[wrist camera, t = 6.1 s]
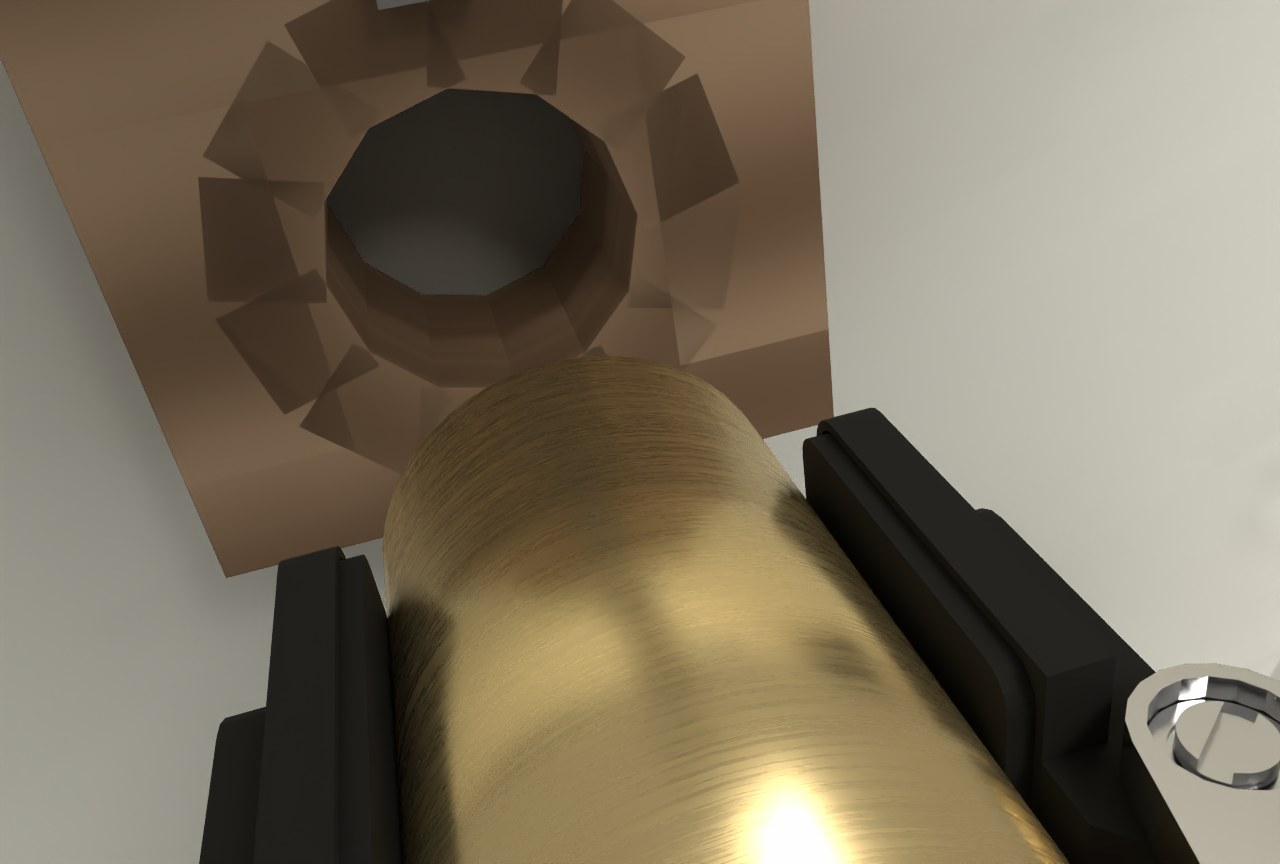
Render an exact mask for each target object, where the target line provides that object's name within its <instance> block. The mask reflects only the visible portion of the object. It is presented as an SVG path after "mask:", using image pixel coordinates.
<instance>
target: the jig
mask: <svg viewBox="0 0 1280 864" xmlns="http://www.w3.org/2000/svg"><path fill="white" fill-rule="evenodd" d="M0 58H1V60H2V62H3V65H4V67H5V69H6V72H7V74H8V76H9V78H10V81H11V83H12V85H13V88H14V90H15V92H16V95H17V97H18V99H19V102H20V104H21V106H22V108H23V111H24V113H25V115H26V118H27V120H28V122H29V125H30V127H31V129H32V131H33V134H34V136H35V138H36V141H37V143H38V145H39V148H40V150H41V152H42V155H43V157H44V159H45V161H46V164H47V166H48V168H49V171H50V173H51V175H52V178H53V180H54V182H55V184H56V187H57V189H58V191H59V194H60V196H61V198H62V201H63V203H64V205H65V208H66V210H67V212H68V214H69V217H70V219H71V221H72V224H73V226H74V228H75V231H76V233H77V235H78V237H79V240H80V242H81V244H82V247H83V249H84V251H85V254H86V256H87V258H88V261H89V263H90V265H91V267H92V270H93V272H94V274H95V277H96V279H97V281H98V284H99V286H100V288H101V291H102V293H103V295H104V297H105V300H106V302H107V304H108V307H109V309H110V311H111V314H112V316H113V318H114V320H115V323H116V325H117V327H118V330H119V332H120V334H121V337H122V339H123V341H124V344H125V346H126V348H127V350H128V353H129V355H130V357H131V360H132V362H133V364H134V367H135V369H136V371H137V373H138V376H139V378H140V380H141V383H142V385H143V387H144V390H145V392H146V394H147V397H148V399H149V401H150V403H151V406H152V408H153V410H154V413H155V415H156V417H157V420H158V422H159V424H160V427H161V429H162V431H163V433H164V436H165V438H166V440H167V443H168V445H169V447H170V450H171V452H172V454H173V456H174V459H175V461H176V463H177V466H178V468H179V470H180V473H181V475H182V477H183V480H184V482H185V484H186V486H187V489H188V491H189V493H190V496H191V498H192V500H193V503H194V505H195V507H196V509H197V512H198V514H199V516H200V519H201V521H202V523H203V526H204V528H205V530H206V533H207V535H208V537H209V539H210V542H211V544H212V546H213V549H214V551H215V553H216V556H217V558H218V560H219V563H220V565H221V567H222V569H223V572H224V574H225V576H226V578H228V577H232V576H236V575H240V574H244V573H247V572H251V571H255V570H259V569H263V568H267V567H271V566H274V565H278V564H279V562H280V561H282V560H285V559H289V558H293V557H296V556H300V555H304V554H308V553H312V552H316V551H320V550H323V549H327V548H331V547H335V546H339V547H340V548H344V547H348V546H352V545H355V544H359V543H363V542H367V541H371V540H375V539H379V538H382V537H384V527H385V521H386V517H387V513H388V508H389V504H390V500H391V498H392V495H393V493H394V490H395V488H396V486H397V483H398V481H399V478H400V476H401V474H402V473H403V471H404V469H405V468H406V466H407V464H408V462H409V461H410V459H411V457H412V456H413V454H414V453H415V451H416V450H417V449H418V448H419V446H420V445H421V444H422V442H423V441H424V440H425V439H426V437H427V436H428V435H429V434H430V433H431V432H432V431H433V430H434V429H435V428H436V427H437V426H438V425H439V424H440V423H441V422H442V421H443V420H444V419H445V418H446V417H447V416H448V415H449V414H450V413H451V412H453V411H454V410H455V409H456V408H458V407H459V406H460V405H462V404H463V403H464V402H466V401H467V400H468V399H470V398H471V397H472V396H474V395H476V394H477V393H479V392H481V391H482V390H484V389H486V388H487V387H489V386H491V385H493V384H494V383H496V382H498V381H500V380H503V379H505V378H507V377H509V376H512V375H514V374H516V373H518V372H521V371H523V370H526V369H530V368H533V367H536V366H539V365H543V364H546V363H549V362H554V361H559V360H565V359H571V358H576V357H588V356H606V355H608V356H622V357H635V358H640V359H645V360H650V361H655V362H660V363H663V364H666V365H669V366H672V367H675V368H678V369H681V370H684V371H686V372H688V373H690V374H692V375H694V376H696V377H698V378H700V379H701V380H703V381H705V382H707V383H708V384H710V385H711V386H713V387H714V388H715V389H717V390H718V391H720V392H721V393H723V394H724V395H725V396H726V397H727V398H728V399H729V400H731V401H732V402H733V403H734V404H735V405H736V406H737V407H738V408H739V409H740V410H741V411H742V412H743V414H744V415H745V416H746V418H747V419H748V420H749V422H750V423H751V424H752V426H753V427H754V428H755V430H756V431H757V432H758V434H759V435H760V436H761V438H762V439H764V438H768V437H772V436H776V435H780V434H783V433H787V432H791V431H795V430H799V429H803V428H807V427H810V426H814V425H818V424H819V423H820V422H821V420H825V419H829V418H833V417H834V414H833V398H832V381H831V364H830V348H829V331H828V315H827V298H826V282H825V265H824V249H823V232H822V216H821V199H820V183H819V166H818V150H817V133H816V116H815V100H814V83H813V67H812V50H811V34H810V17H809V1H808V0H0ZM447 88H453V89H467V90H482V91H497V92H511V93H526V94H536V95H538V96H539V97H541V98H542V99H544V100H545V101H547V102H548V103H549V104H551V105H552V106H554V107H555V108H557V109H558V110H559V111H561V112H562V113H564V114H565V115H567V116H568V117H570V118H571V121H572V123H573V125H574V127H575V129H576V131H577V134H578V136H579V138H580V140H581V142H582V144H583V147H584V149H585V152H584V164H583V175H582V187H581V198H580V210H579V215H578V217H577V218H576V219H575V221H574V222H573V224H572V225H571V227H570V228H569V230H568V231H567V233H566V234H565V236H564V237H563V239H562V240H561V242H560V243H559V244H558V246H557V247H556V249H555V250H554V252H553V253H552V255H551V256H550V258H549V259H548V261H547V262H546V264H545V265H544V266H543V267H542V268H540V269H538V270H536V271H534V272H532V273H530V274H528V275H526V276H524V277H522V278H520V279H518V280H516V281H514V282H512V283H510V284H509V285H507V286H505V287H503V288H501V289H499V290H497V291H495V292H493V293H491V294H489V295H487V296H476V295H422V294H420V293H418V292H416V291H415V290H413V289H411V288H409V287H407V286H406V285H404V284H402V283H400V282H398V281H397V280H395V279H393V278H391V277H389V276H388V275H386V274H384V273H382V272H380V271H379V270H377V269H375V268H373V267H372V266H370V265H368V264H366V263H364V262H363V260H362V258H361V257H360V255H359V254H358V252H357V250H356V249H355V247H354V246H353V244H352V242H351V241H350V239H349V237H348V236H347V234H346V233H345V231H344V229H343V228H342V226H341V225H340V223H339V221H338V220H337V218H336V217H335V215H334V213H333V212H332V210H331V208H330V207H329V205H328V195H329V193H330V192H331V190H332V189H333V187H334V185H335V184H336V182H337V180H338V179H339V177H340V175H341V174H342V172H343V170H344V169H345V167H346V165H347V164H348V162H349V160H350V159H351V157H352V155H353V154H354V152H355V150H356V149H357V147H358V145H359V144H360V142H361V140H362V139H363V137H364V135H365V134H366V132H367V131H368V129H369V128H371V127H373V126H375V125H377V124H379V123H381V122H383V121H385V120H387V119H389V118H390V117H392V116H394V115H396V114H398V113H400V112H402V111H404V110H406V109H408V108H410V107H412V106H414V105H416V104H418V103H420V102H422V101H424V100H426V99H428V98H430V97H432V96H434V95H436V94H437V93H439V92H441V91H443V90H445V89H447Z"/></svg>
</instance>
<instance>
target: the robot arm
mask: <svg viewBox="0 0 1280 864" xmlns="http://www.w3.org/2000/svg"><path fill="white" fill-rule="evenodd" d="M803 463H804V476H805V488H806V500H807V501H808V503H809V504H810V506H811V507H812V508H813V510H814V511H815V512H816V514H817V515H818V517H819V518H820V519H821V521H822V522H823V523H824V525H825V526H826V528H827V529H828V530H829V532H830V533H831V535H832V536H833V537H834V539H835V540H836V541H837V543H838V544H839V546H840V547H841V548H842V550H843V551H844V552H845V554H846V555H847V557H848V558H849V559H850V561H851V562H852V564H853V565H854V566H855V568H856V569H857V570H858V572H859V573H860V575H861V576H862V577H863V579H864V580H865V581H866V583H867V584H868V586H869V587H870V588H871V590H872V591H873V593H874V594H875V595H876V597H877V598H878V599H879V601H880V602H881V604H882V605H883V606H884V608H885V609H886V610H887V612H888V613H889V615H890V616H891V617H892V619H893V620H894V622H895V623H896V624H897V626H898V627H899V628H900V630H901V631H902V633H903V634H904V635H905V637H906V638H907V639H908V641H909V642H910V644H911V645H912V646H913V648H914V649H915V651H916V652H917V653H918V655H919V656H920V657H921V659H922V660H923V662H924V663H925V664H926V666H927V667H928V668H929V670H930V671H931V673H932V674H933V675H934V677H935V678H936V680H937V681H938V682H939V684H940V685H941V686H942V688H943V689H944V691H945V692H946V693H947V695H948V696H949V697H950V699H951V700H952V702H953V703H954V704H955V706H956V707H957V709H958V710H959V711H960V713H961V714H962V715H963V717H964V718H965V720H966V721H967V722H968V724H969V725H970V726H971V728H972V729H973V731H974V732H975V733H976V735H977V736H978V737H979V739H980V740H981V742H982V743H983V744H984V746H985V747H986V749H987V750H988V751H989V753H990V754H991V755H992V757H993V758H994V760H995V761H996V762H997V764H998V765H999V766H1000V768H1001V769H1002V771H1003V772H1004V773H1005V775H1006V776H1007V778H1008V779H1009V780H1010V782H1011V783H1012V784H1013V786H1014V787H1015V789H1016V790H1017V791H1018V793H1019V794H1020V795H1021V797H1022V798H1023V800H1024V801H1025V802H1026V804H1027V805H1028V807H1029V808H1030V809H1031V811H1032V812H1033V813H1034V815H1035V816H1036V818H1037V819H1038V820H1039V822H1040V823H1041V824H1042V826H1043V827H1044V829H1045V830H1046V831H1047V833H1048V834H1049V836H1050V837H1051V838H1052V840H1053V841H1054V842H1055V844H1056V845H1057V847H1058V848H1059V849H1060V851H1061V852H1062V853H1063V855H1064V856H1065V858H1066V859H1067V860H1068V862H1069V863H1070V864H1280V681H1278V680H1275V679H1273V678H1270V677H1267V676H1265V675H1262V674H1259V673H1257V672H1254V671H1251V670H1249V669H1244V668H1238V667H1233V666H1227V665H1221V664H1183V665H1179V666H1175V667H1171V668H1167V669H1163V670H1159V671H1158V672H1155V671H1154V670H1153V669H1152V668H1151V667H1150V666H1149V665H1148V664H1147V663H1146V662H1145V661H1144V660H1143V659H1142V658H1141V657H1140V656H1139V655H1138V654H1137V653H1136V652H1135V651H1134V650H1133V649H1132V648H1131V647H1130V646H1129V645H1128V644H1127V643H1126V642H1125V641H1124V640H1123V639H1122V638H1121V637H1120V636H1119V635H1118V634H1117V633H1116V632H1115V631H1114V630H1113V629H1112V628H1111V627H1110V626H1109V625H1108V624H1107V623H1106V622H1105V621H1104V620H1103V619H1102V618H1101V617H1100V616H1099V615H1098V614H1097V613H1096V612H1095V611H1094V610H1093V609H1092V608H1091V607H1090V606H1089V605H1088V604H1087V603H1086V602H1085V601H1084V600H1083V599H1082V598H1081V597H1080V596H1079V595H1078V594H1077V593H1076V592H1075V591H1074V590H1073V589H1072V588H1071V587H1070V586H1069V585H1068V584H1067V583H1066V582H1065V581H1064V580H1063V579H1062V578H1061V577H1060V576H1059V575H1058V574H1057V573H1056V572H1055V571H1054V570H1053V569H1052V568H1051V567H1050V566H1049V565H1048V564H1047V563H1046V562H1045V561H1044V560H1043V559H1042V558H1041V557H1040V556H1039V555H1038V554H1037V553H1036V552H1035V551H1034V550H1033V549H1032V548H1031V547H1030V546H1029V545H1028V544H1027V543H1026V542H1025V541H1024V540H1023V539H1022V538H1021V537H1020V536H1019V535H1018V534H1017V533H1016V532H1015V531H1014V530H1013V529H1012V528H1011V527H1010V526H1009V525H1008V524H1007V523H1006V522H1005V521H1004V520H1003V519H1002V518H1001V517H1000V516H998V515H997V514H996V513H994V512H993V511H992V510H988V509H983V508H981V509H978V510H975V509H974V508H973V507H972V506H971V505H970V504H969V503H968V502H967V501H966V500H965V499H964V498H963V497H962V496H961V495H960V494H959V493H958V492H957V491H956V490H955V489H954V488H953V487H952V486H951V485H950V484H949V483H948V482H947V480H946V479H945V478H944V477H943V476H942V475H941V474H940V473H939V472H938V471H937V470H936V469H935V468H934V467H933V466H932V465H931V464H930V463H929V462H928V461H927V460H926V459H925V458H924V457H923V456H922V455H921V454H920V453H919V452H918V451H917V449H916V448H915V447H914V446H913V445H912V444H911V443H910V442H909V441H908V440H907V439H906V438H905V437H904V436H903V435H902V434H901V433H900V432H899V431H898V430H897V429H896V428H895V427H894V426H893V425H892V424H891V423H890V422H889V421H888V420H887V418H886V417H885V416H884V415H883V414H882V413H881V412H880V411H878V410H877V409H875V408H868V409H864V410H860V411H856V412H852V413H848V414H845V415H841V416H837V417H833V418H829V419H825V420H821V422H820V423H819V424H818V429H817V436H816V437H812V438H808V439H805V441H804V443H803ZM199 864H403V850H402V834H401V819H400V803H399V788H398V772H397V756H396V741H395V725H394V710H393V694H392V678H391V663H390V647H389V632H388V618H387V615H386V612H385V609H384V606H383V603H382V600H381V598H380V595H379V592H378V589H377V586H376V583H375V580H374V577H373V574H372V571H371V568H370V566H369V563H368V561H367V559H366V557H365V556H364V555H360V556H356V557H352V558H348V559H346V558H345V555H344V553H343V552H342V550H341V548H340V547H339V546H335V547H331V548H327V549H323V550H320V551H316V552H312V553H308V554H304V555H300V556H296V557H293V558H289V559H285V560H282V561H280V562H279V566H278V573H277V585H276V597H275V609H274V621H273V632H272V644H271V656H270V668H269V680H268V692H267V703H266V707H263V708H260V709H256V710H253V711H249V712H245V713H242V714H238V715H235V716H231V717H227V718H225V719H224V720H223V721H222V723H221V724H220V726H219V730H218V734H217V739H216V746H215V753H214V760H213V768H212V775H211V782H210V789H209V797H208V804H207V811H206V818H205V826H204V833H203V840H202V847H201V855H200V862H199Z"/></svg>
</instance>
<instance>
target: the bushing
mask: <svg viewBox="0 0 1280 864" xmlns="http://www.w3.org/2000/svg"><path fill="white" fill-rule="evenodd" d="M383 558H384V573H385V589H386V605H387V618H388V632H389V647H390V663H391V678H392V694H393V710H394V725H395V741H396V756H397V772H398V788H399V803H400V819H401V834H402V850H403V864H1070V863H1069V862H1068V860H1067V859H1066V858H1065V856H1064V855H1063V853H1062V852H1061V851H1060V849H1059V848H1058V847H1057V845H1056V844H1055V842H1054V841H1053V840H1052V838H1051V837H1050V836H1049V834H1048V833H1047V831H1046V830H1045V829H1044V827H1043V826H1042V824H1041V823H1040V822H1039V820H1038V819H1037V818H1036V816H1035V815H1034V813H1033V812H1032V811H1031V809H1030V808H1029V807H1028V805H1027V804H1026V802H1025V801H1024V800H1023V798H1022V797H1021V795H1020V794H1019V793H1018V791H1017V790H1016V789H1015V787H1014V786H1013V784H1012V783H1011V782H1010V780H1009V779H1008V778H1007V776H1006V775H1005V773H1004V772H1003V771H1002V769H1001V768H1000V766H999V765H998V764H997V762H996V761H995V760H994V758H993V757H992V755H991V754H990V753H989V751H988V750H987V749H986V747H985V746H984V744H983V743H982V742H981V740H980V739H979V737H978V736H977V735H976V733H975V732H974V731H973V729H972V728H971V726H970V725H969V724H968V722H967V721H966V720H965V718H964V717H963V715H962V714H961V713H960V711H959V710H958V709H957V707H956V706H955V704H954V703H953V702H952V700H951V699H950V697H949V696H948V695H947V693H946V692H945V691H944V689H943V688H942V686H941V685H940V684H939V682H938V681H937V680H936V678H935V677H934V675H933V674H932V673H931V671H930V670H929V668H928V667H927V666H926V664H925V663H924V662H923V660H922V659H921V657H920V656H919V655H918V653H917V652H916V651H915V649H914V648H913V646H912V645H911V644H910V642H909V641H908V639H907V638H906V637H905V635H904V634H903V633H902V631H901V630H900V628H899V627H898V626H897V624H896V623H895V622H894V620H893V619H892V617H891V616H890V615H889V613H888V612H887V610H886V609H885V608H884V606H883V605H882V604H881V602H880V601H879V599H878V598H877V597H876V595H875V594H874V593H873V591H872V590H871V588H870V587H869V586H868V584H867V583H866V581H865V580H864V579H863V577H862V576H861V575H860V573H859V572H858V570H857V569H856V568H855V566H854V565H853V564H852V562H851V561H850V559H849V558H848V557H847V555H846V554H845V552H844V551H843V550H842V548H841V547H840V546H839V544H838V543H837V541H836V540H835V539H834V537H833V536H832V535H831V533H830V532H829V530H828V529H827V528H826V526H825V525H824V523H823V522H822V521H821V519H820V518H819V517H818V515H817V514H816V512H815V511H814V510H813V508H812V507H811V506H810V504H809V503H808V501H807V500H806V499H805V497H804V496H803V494H802V493H801V492H800V490H799V489H798V488H797V486H796V485H795V483H794V482H793V481H792V479H791V478H790V477H789V475H788V474H787V472H786V471H785V470H784V468H783V467H782V465H781V464H780V463H779V461H778V460H777V459H776V457H775V456H774V454H773V453H772V452H771V450H770V449H769V448H768V446H767V445H766V443H765V442H764V441H763V439H762V438H761V436H760V435H759V434H758V432H757V431H756V430H755V428H754V427H753V426H752V424H751V423H750V422H749V420H748V419H747V418H746V416H745V415H744V414H743V412H742V411H741V410H740V409H739V408H738V407H737V406H736V405H735V404H734V403H733V402H732V401H731V400H729V399H728V398H727V397H726V396H725V395H724V394H723V393H721V392H720V391H718V390H717V389H715V388H714V387H713V386H711V385H710V384H708V383H707V382H705V381H703V380H701V379H700V378H698V377H696V376H694V375H692V374H690V373H688V372H686V371H684V370H681V369H678V368H675V367H672V366H669V365H666V364H663V363H660V362H655V361H650V360H645V359H640V358H635V357H622V356H608V355H606V356H588V357H576V358H571V359H565V360H559V361H554V362H549V363H546V364H543V365H539V366H536V367H533V368H530V369H526V370H523V371H521V372H518V373H516V374H514V375H512V376H509V377H507V378H505V379H503V380H500V381H498V382H496V383H494V384H493V385H491V386H489V387H487V388H486V389H484V390H482V391H481V392H479V393H477V394H476V395H474V396H472V397H471V398H470V399H468V400H467V401H466V402H464V403H463V404H462V405H460V406H459V407H458V408H456V409H455V410H454V411H453V412H451V413H450V414H449V415H448V416H447V417H446V418H445V419H444V420H443V421H442V422H441V423H440V424H439V425H438V426H437V427H436V428H435V429H434V430H433V431H432V432H431V433H430V434H429V435H428V436H427V437H426V439H425V440H424V441H423V442H422V444H421V445H420V446H419V448H418V449H417V450H416V451H415V453H414V454H413V456H412V457H411V459H410V461H409V462H408V464H407V466H406V468H405V469H404V471H403V473H402V474H401V476H400V478H399V481H398V483H397V486H396V488H395V490H394V493H393V495H392V498H391V500H390V504H389V508H388V513H387V517H386V521H385V527H384V539H383Z"/></svg>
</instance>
